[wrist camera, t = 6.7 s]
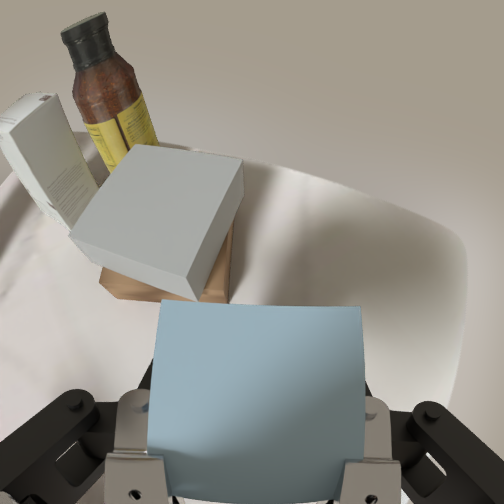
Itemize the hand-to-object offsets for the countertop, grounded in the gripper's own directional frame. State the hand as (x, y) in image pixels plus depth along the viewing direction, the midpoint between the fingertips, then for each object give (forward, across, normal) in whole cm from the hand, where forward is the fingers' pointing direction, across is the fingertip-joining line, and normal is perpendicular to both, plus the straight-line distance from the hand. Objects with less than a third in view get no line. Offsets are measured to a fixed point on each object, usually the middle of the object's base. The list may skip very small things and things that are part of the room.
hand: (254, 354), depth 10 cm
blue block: (+2, 0, +5) cm, 5 cm away
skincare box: (+19, +22, -4) cm, 29 cm away
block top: (+12, +7, -2) cm, 15 cm away
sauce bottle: (+22, +14, -6) cm, 27 cm away
